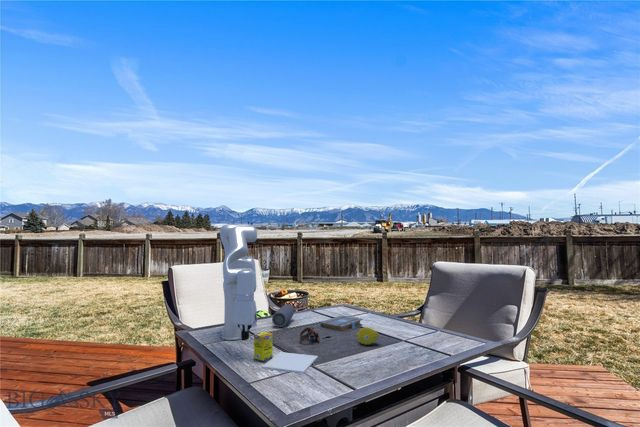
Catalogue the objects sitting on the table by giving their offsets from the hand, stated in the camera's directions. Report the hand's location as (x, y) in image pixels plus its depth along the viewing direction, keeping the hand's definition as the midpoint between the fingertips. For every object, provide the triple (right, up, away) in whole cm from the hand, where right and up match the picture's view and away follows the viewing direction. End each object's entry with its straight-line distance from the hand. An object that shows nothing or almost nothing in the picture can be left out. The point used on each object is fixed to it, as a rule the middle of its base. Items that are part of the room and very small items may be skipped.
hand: (245, 339), depth 154 cm
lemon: (+57, -9, +16) cm, 60 cm away
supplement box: (+9, -8, -3) cm, 12 cm away
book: (+46, -11, +48) cm, 68 cm away
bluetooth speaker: (+11, -11, +56) cm, 58 cm away
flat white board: (+21, -7, -7) cm, 23 cm away
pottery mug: (+28, -9, +22) cm, 37 cm away
